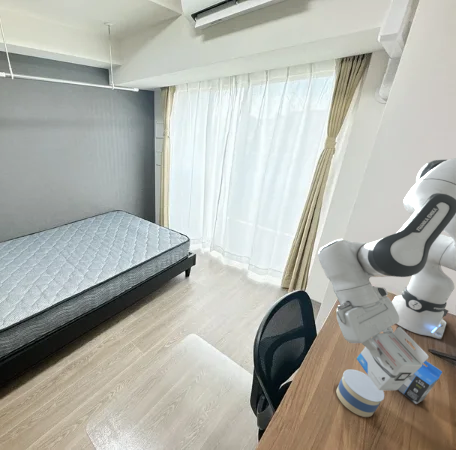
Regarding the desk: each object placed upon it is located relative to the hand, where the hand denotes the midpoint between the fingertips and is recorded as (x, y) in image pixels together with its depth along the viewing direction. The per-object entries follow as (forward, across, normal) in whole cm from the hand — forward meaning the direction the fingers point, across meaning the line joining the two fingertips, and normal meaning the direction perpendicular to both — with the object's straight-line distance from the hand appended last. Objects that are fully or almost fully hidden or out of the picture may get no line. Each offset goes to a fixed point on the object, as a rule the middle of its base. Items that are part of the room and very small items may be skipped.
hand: (385, 350), depth 63 cm
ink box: (+6, 0, +6) cm, 8 cm away
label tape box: (+17, +18, +12) cm, 28 cm away
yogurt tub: (+14, 0, +15) cm, 21 cm away
